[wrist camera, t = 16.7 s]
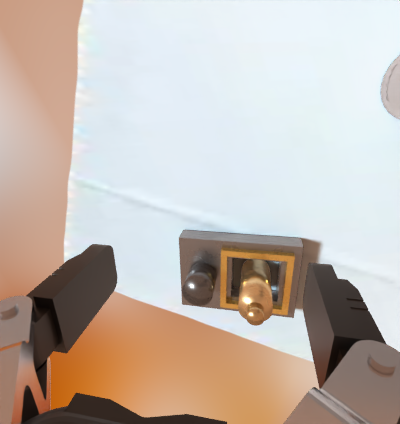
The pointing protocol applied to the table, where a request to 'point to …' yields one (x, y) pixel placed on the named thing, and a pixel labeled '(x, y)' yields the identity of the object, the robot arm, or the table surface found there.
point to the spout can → (255, 292)
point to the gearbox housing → (223, 268)
